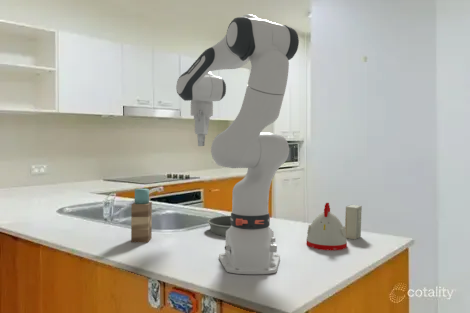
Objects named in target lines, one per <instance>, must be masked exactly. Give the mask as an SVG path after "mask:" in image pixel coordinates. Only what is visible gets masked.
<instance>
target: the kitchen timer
mask: <svg viewBox="0 0 470 313" xmlns="http://www.w3.org/2000/svg"><path fill="white" fill-rule="evenodd" d="M347 244H348V240H347V238H346V230H345V225H344V226H343V224H342V222H341V219H339V218H338V217H337V215H335V214H334V213H332V212H331V208H330V203H329V202H325V204H324V209H323V212H321V213H320V214H318V215H317V216H315V218H314V219H313V220H312V222H311V224H309V225H308V228H307V236H306V246H308V247H310V248H312V249H314V250H315V249H316V250H323V251H341V250H344V249H347V247H348V246H347Z"/></svg>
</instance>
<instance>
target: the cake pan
mask: <svg viewBox="0 0 470 313" xmlns="http://www.w3.org/2000/svg"><path fill="white" fill-rule="evenodd" d="M230 217H231V215H222V216H214V217H212V218H209V219H207V220H206V222H207V224H209V227H210V232H211V233H212V234H214V235H217V236H221V237H222V236H223V237H226V231H227V230H228V229H229V228H230V227H231V220H230Z"/></svg>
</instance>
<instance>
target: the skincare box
mask: <svg viewBox="0 0 470 313" xmlns="http://www.w3.org/2000/svg"><path fill="white" fill-rule="evenodd" d="M362 208H363V205H360V204H359V205H357V204H349V205H347V206H345V217H344V218H345V222H344V226H345V230H346V239H349V240H358V239H359V238H361V236H362V235H361V233H362V212H363V211H362Z"/></svg>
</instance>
